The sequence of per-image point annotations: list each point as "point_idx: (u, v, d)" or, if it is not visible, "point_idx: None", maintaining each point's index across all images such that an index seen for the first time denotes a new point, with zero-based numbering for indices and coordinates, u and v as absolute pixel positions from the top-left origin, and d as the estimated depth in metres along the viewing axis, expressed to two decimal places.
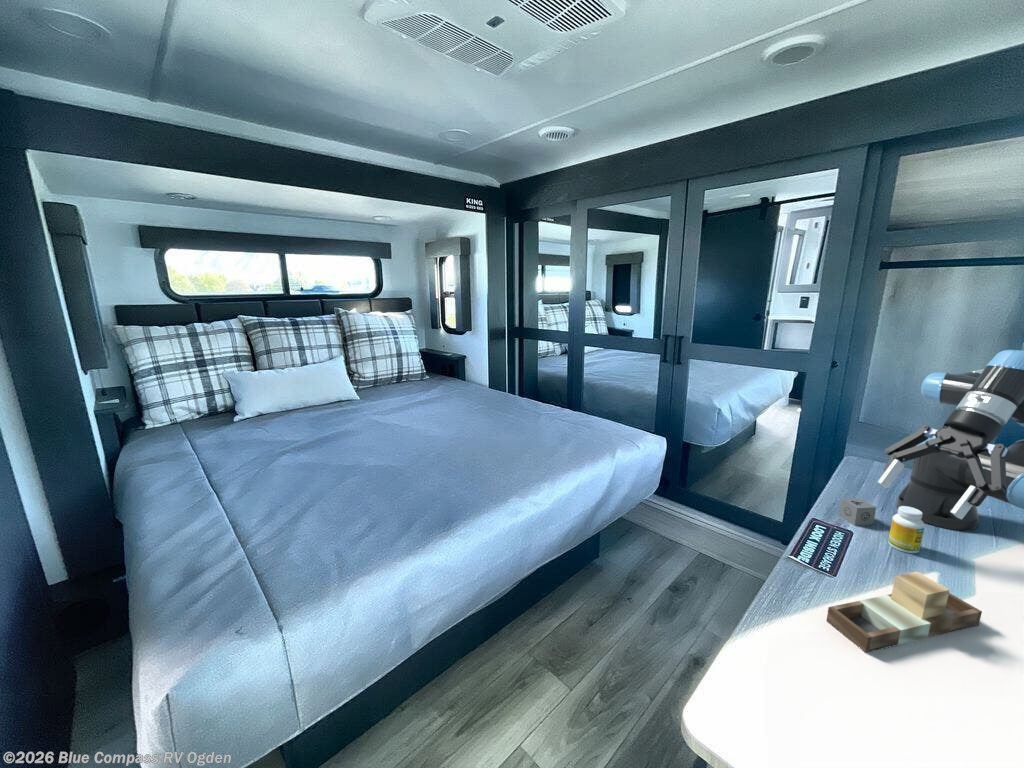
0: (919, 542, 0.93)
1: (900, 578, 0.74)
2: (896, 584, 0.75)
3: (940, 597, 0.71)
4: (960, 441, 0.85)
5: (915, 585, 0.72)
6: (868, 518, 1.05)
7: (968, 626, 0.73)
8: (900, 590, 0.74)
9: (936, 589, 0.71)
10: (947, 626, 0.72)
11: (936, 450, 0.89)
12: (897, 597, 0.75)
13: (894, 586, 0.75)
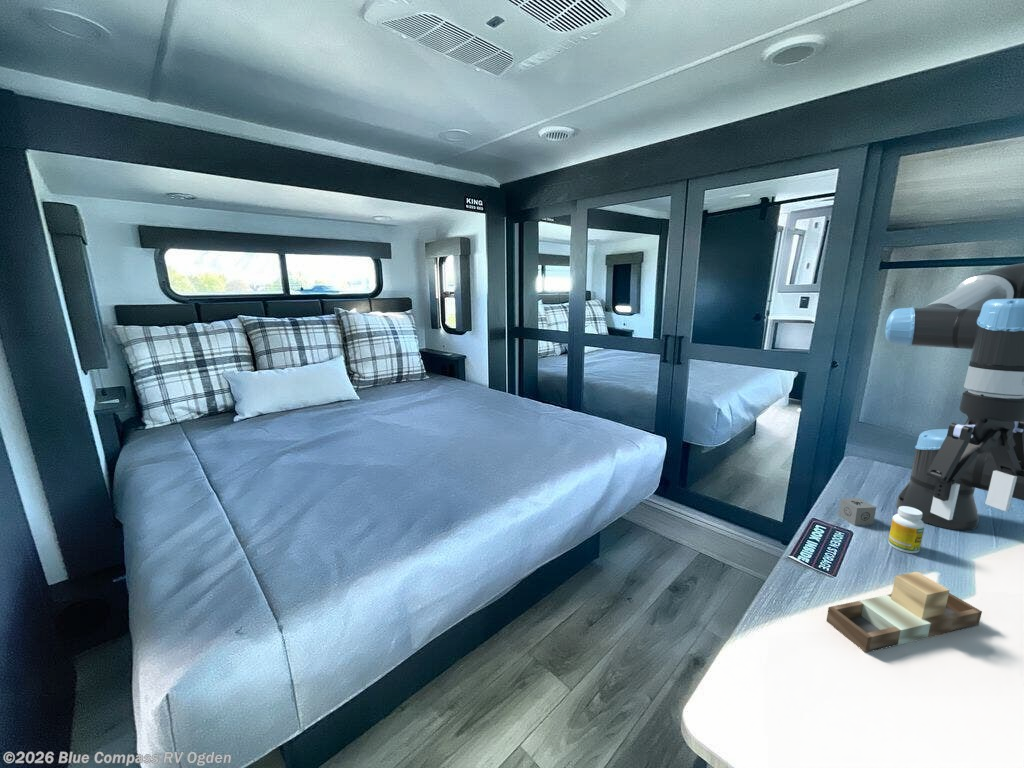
0: (919, 542, 0.93)
1: (900, 578, 0.74)
2: (896, 584, 0.75)
3: (940, 597, 0.71)
4: (1008, 435, 0.67)
5: (915, 585, 0.72)
6: (868, 518, 1.05)
7: (968, 626, 0.73)
8: (900, 590, 0.74)
9: (936, 589, 0.71)
10: (947, 626, 0.72)
11: None
12: (897, 597, 0.75)
13: (894, 586, 0.75)
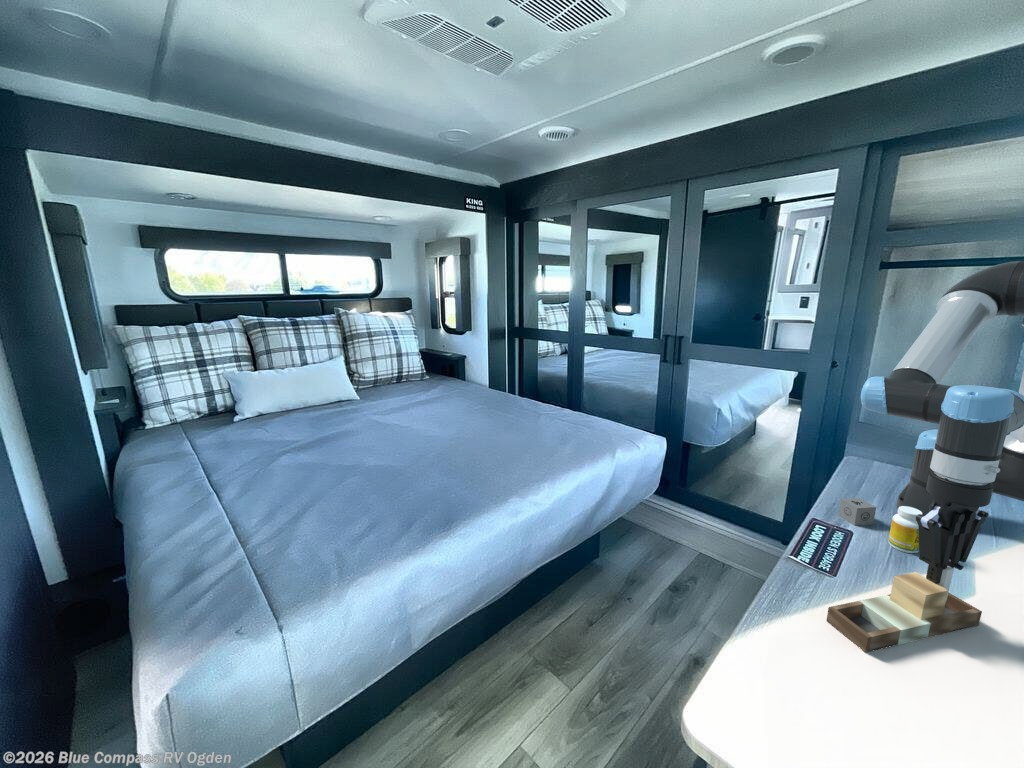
0: None
1: (899, 578, 0.74)
2: (895, 584, 0.75)
3: (939, 597, 0.71)
4: (971, 516, 0.69)
5: (914, 585, 0.72)
6: (868, 518, 1.05)
7: (968, 626, 0.73)
8: (899, 590, 0.74)
9: (935, 589, 0.71)
10: (947, 626, 0.72)
11: None
12: (896, 597, 0.75)
13: (893, 586, 0.75)
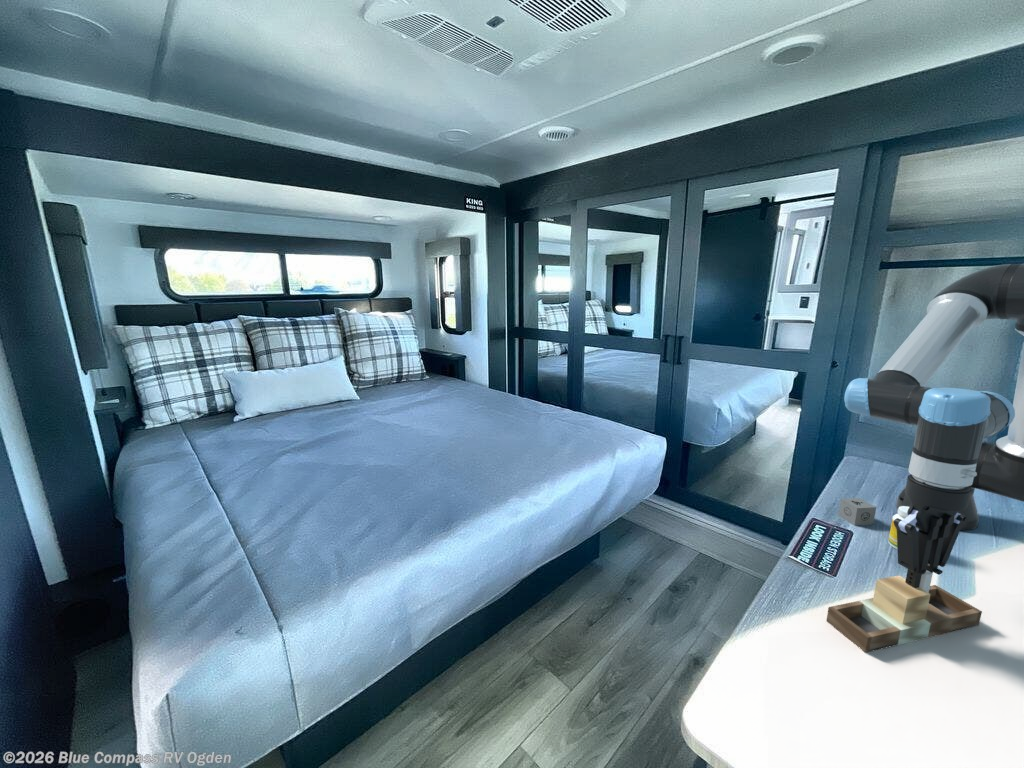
0: None
1: (882, 582, 0.74)
2: (877, 588, 0.74)
3: (921, 601, 0.70)
4: (949, 520, 0.68)
5: (896, 589, 0.72)
6: (868, 518, 1.05)
7: (968, 626, 0.73)
8: (881, 594, 0.74)
9: (917, 593, 0.71)
10: (947, 626, 0.72)
11: None
12: (878, 601, 0.74)
13: (875, 590, 0.74)
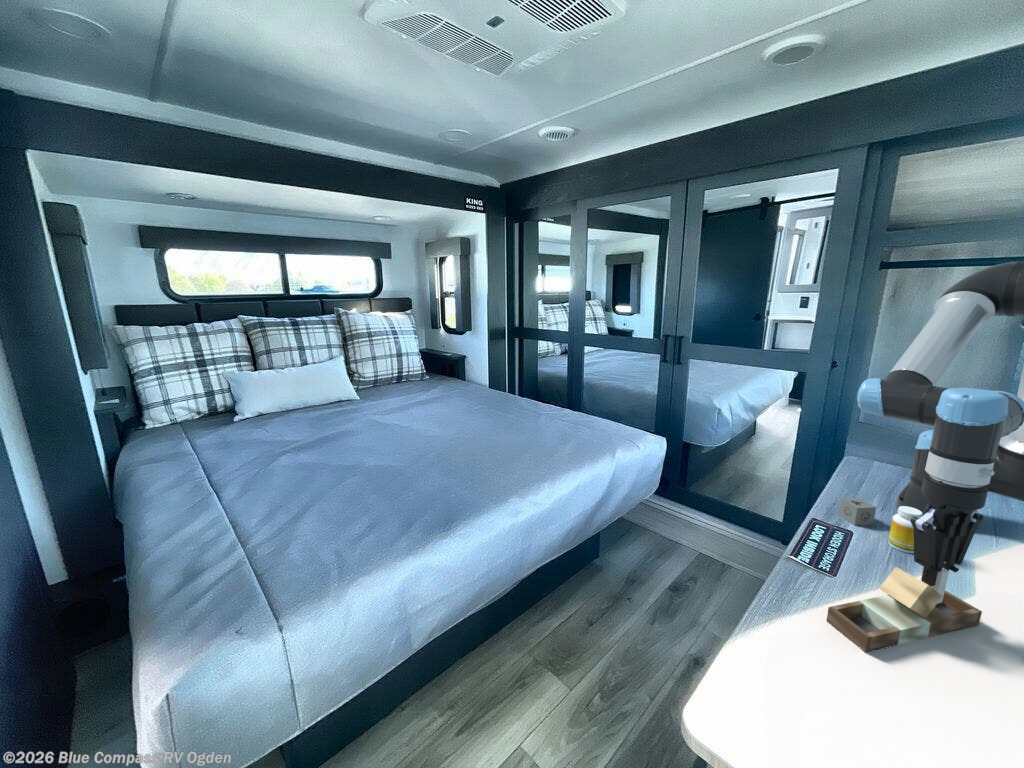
0: None
1: None
2: (893, 574, 0.74)
3: (933, 597, 0.71)
4: (966, 519, 0.69)
5: (915, 578, 0.72)
6: (868, 518, 1.05)
7: (968, 626, 0.73)
8: (895, 580, 0.73)
9: None
10: (947, 626, 0.72)
11: None
12: (888, 587, 0.74)
13: (889, 576, 0.74)
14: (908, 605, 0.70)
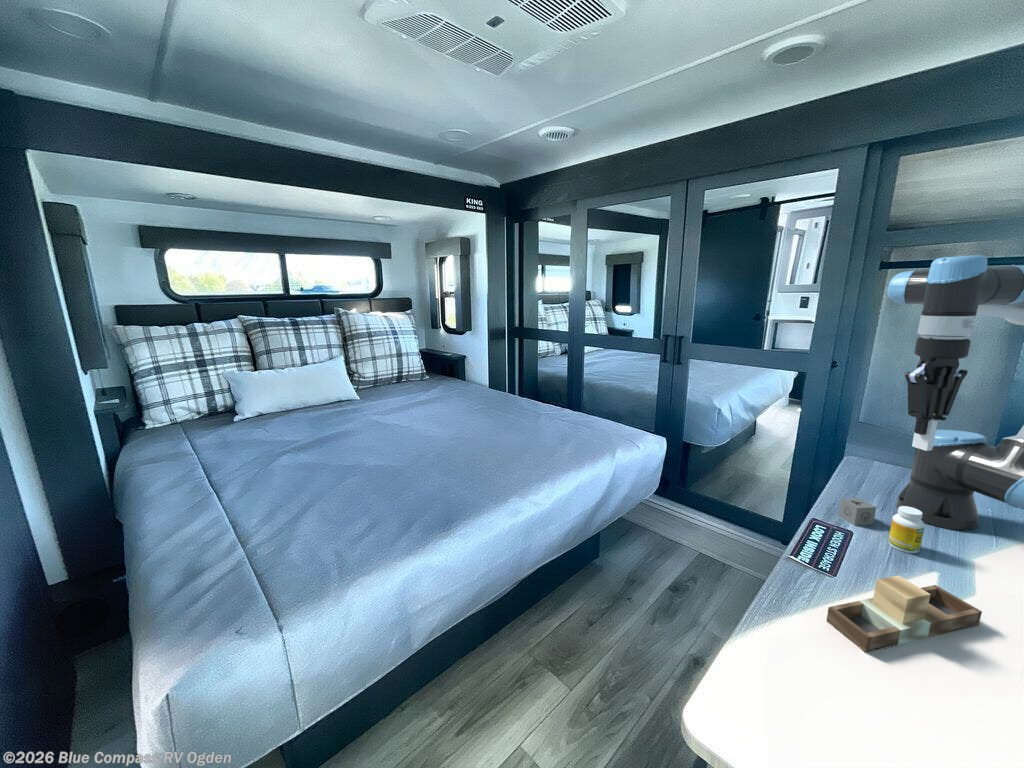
0: (919, 542, 0.93)
1: (882, 582, 0.74)
2: (877, 588, 0.74)
3: (921, 601, 0.70)
4: (952, 370, 0.81)
5: (896, 589, 0.72)
6: (868, 518, 1.05)
7: (968, 626, 0.73)
8: (881, 594, 0.73)
9: (917, 593, 0.71)
10: (947, 626, 0.72)
11: None
12: (878, 601, 0.74)
13: (875, 590, 0.74)
14: (900, 621, 0.71)
